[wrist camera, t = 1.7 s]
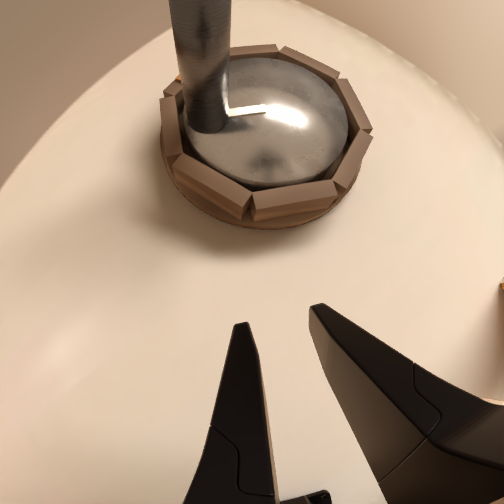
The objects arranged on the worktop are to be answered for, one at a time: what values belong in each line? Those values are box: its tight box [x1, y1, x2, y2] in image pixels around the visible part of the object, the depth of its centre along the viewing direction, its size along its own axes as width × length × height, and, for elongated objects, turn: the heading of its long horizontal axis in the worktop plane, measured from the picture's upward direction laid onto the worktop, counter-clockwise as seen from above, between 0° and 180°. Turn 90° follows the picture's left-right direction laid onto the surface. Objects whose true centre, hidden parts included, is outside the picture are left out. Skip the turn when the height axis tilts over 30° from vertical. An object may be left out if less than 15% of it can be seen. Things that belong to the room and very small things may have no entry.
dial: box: [169, 0, 348, 192], centre depth 16 cm, size 13×13×14 cm
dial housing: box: [159, 44, 373, 229], centre depth 22 cm, size 17×17×4 cm
